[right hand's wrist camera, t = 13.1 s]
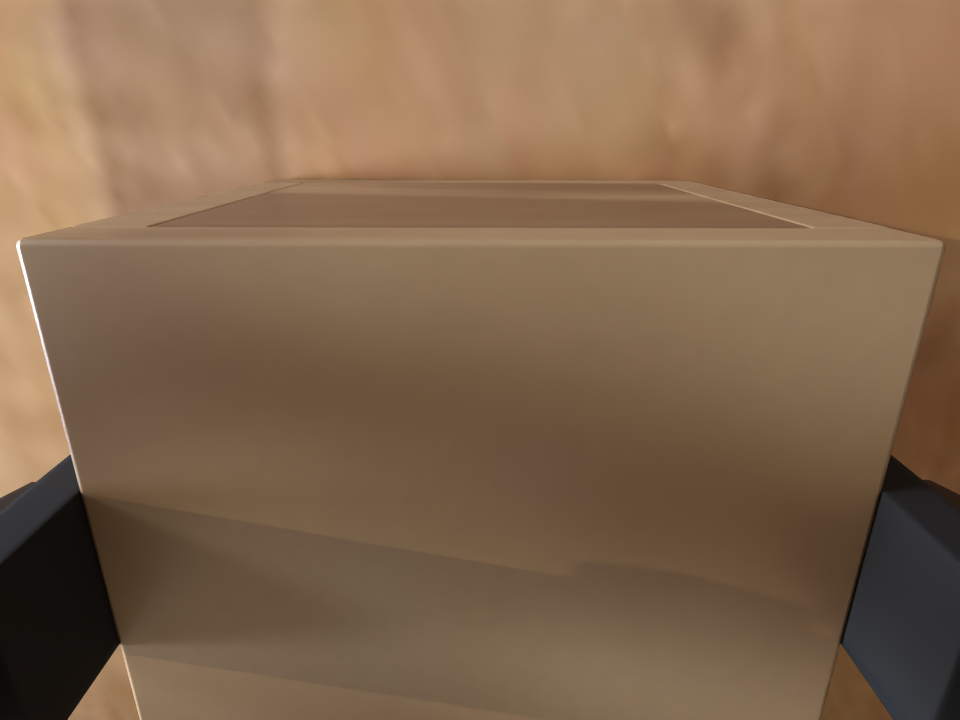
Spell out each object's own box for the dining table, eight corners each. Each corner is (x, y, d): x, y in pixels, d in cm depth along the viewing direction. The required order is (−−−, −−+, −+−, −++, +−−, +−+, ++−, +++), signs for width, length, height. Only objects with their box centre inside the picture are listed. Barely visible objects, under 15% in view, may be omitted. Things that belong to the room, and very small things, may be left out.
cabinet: (621, 750, 24) (711, 1137, 15) (336, 749, 24) (246, 1137, 15) (687, 180, 16) (952, 240, 7) (273, 179, 16) (9, 238, 7)
